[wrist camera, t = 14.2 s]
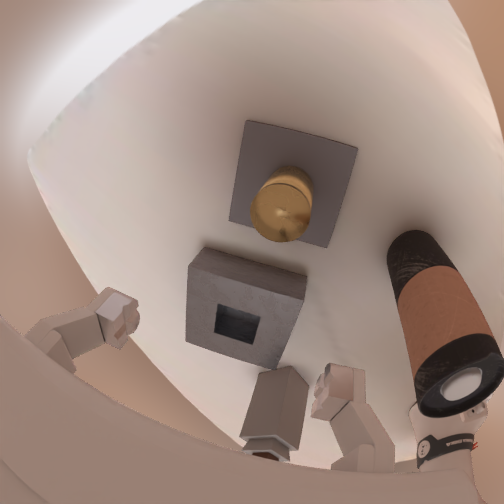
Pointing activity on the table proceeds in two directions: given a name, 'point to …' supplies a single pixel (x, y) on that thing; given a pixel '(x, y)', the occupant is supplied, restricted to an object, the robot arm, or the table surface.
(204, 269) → the housing
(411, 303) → the travel mug
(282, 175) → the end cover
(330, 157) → the mat
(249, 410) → the grey square bottle
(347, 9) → the table surface
